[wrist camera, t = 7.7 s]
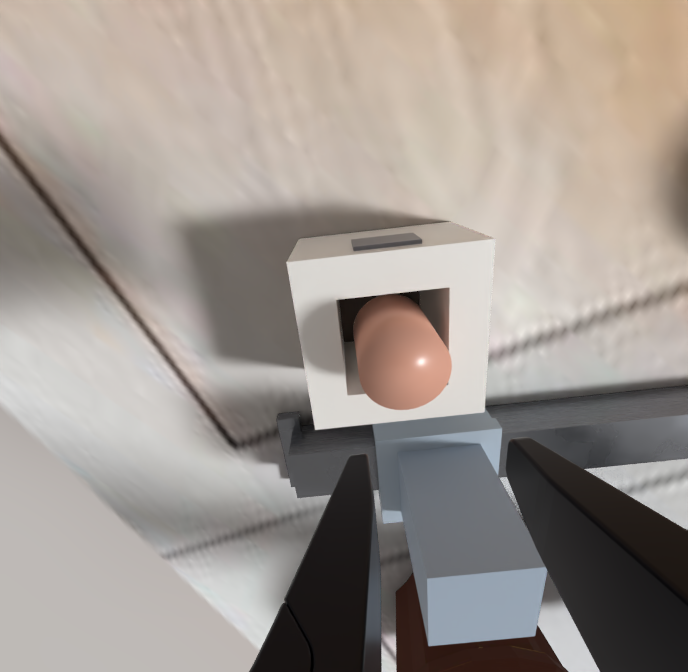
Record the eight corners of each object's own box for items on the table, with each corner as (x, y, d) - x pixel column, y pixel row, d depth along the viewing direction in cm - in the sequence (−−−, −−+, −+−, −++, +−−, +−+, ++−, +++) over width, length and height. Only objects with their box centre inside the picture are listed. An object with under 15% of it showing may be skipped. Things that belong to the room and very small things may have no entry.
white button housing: (448, 356, 19) (484, 412, 15) (319, 370, 20) (315, 430, 15) (450, 218, 17) (495, 234, 12) (298, 235, 17) (285, 258, 12)
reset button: (426, 357, 15) (451, 405, 12) (356, 365, 15) (362, 414, 12) (425, 290, 14) (452, 323, 11) (349, 298, 14) (354, 334, 11)
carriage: (474, 469, 22) (559, 645, 14) (376, 479, 22) (402, 660, 14) (478, 392, 20) (582, 547, 12) (369, 403, 20) (395, 565, 12)
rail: (719, 435, 22) (762, 464, 20) (292, 479, 23) (288, 512, 20) (747, 364, 20) (798, 387, 18) (278, 413, 21) (271, 442, 18)
